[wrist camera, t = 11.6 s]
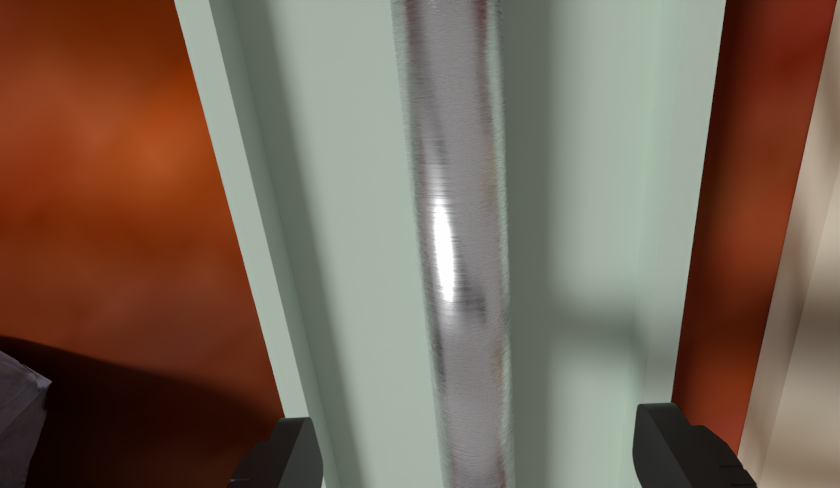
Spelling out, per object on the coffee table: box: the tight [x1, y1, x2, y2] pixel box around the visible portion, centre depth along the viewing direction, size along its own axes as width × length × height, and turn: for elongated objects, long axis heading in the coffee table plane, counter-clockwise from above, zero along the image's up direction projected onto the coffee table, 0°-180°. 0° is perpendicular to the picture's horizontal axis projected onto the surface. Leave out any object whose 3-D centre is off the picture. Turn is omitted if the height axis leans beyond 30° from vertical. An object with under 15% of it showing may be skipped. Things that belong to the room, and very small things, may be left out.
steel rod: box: [390, 0, 515, 488], centre depth 16 cm, size 28×3×3 cm, turn 6°
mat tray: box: [174, 0, 726, 488], centre depth 17 cm, size 30×15×2 cm, turn 6°
